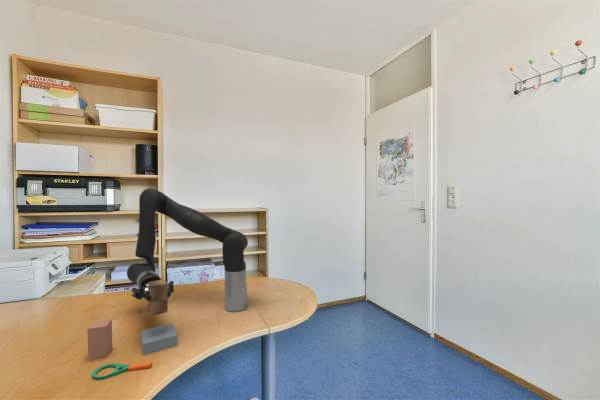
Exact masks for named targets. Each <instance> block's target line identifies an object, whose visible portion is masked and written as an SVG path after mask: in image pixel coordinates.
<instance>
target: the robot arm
mask: <svg viewBox="0 0 600 400" xmlns="http://www.w3.org/2000/svg"><path fill="white" fill-rule="evenodd" d="M138 201H139V205H138V206H139V209H138V210H139V214H138V215H139V217H138V223H139V224H138V235H137V241H136V245H135V246H136V248H135V254H134V255H135V257H137V258H141V259H143V260H145V261H146V262H147V263H139V262H138V263H135V262H134V263H132V264H130V265H129V266H128V268H127V270H126V275H127V278H128V281H130V282H132V283H135V284H137V288H136V287H133V288H131V296H132V298H133V297H134V299H136V300H140V301H141V300H142V299H145V301H147V302H148V301H149V302H150V301H151V294H150V293H149V292H148V282H151V281H157V280H162V278H161V277H160V276H159V274H157V270H156V265H155V247H156V241H157V236H156V235H157V234H156V227H155V225H156V224H155V216H156V213H159V214H161V215H163V216H166V217H168V218H170V219H172V221H175V222H176V223H177V224H178V225H180V226H181V227H182V228H183V229H186V230H187V231H189V232H191V233H192V234H196V235H199V236H202V237H206V238H210V239H213V240H216V241H218V242H220V243H221V244H222V248H221V249H222V264H223V266H224V310H226V311H227V312H234V313H235V312H240V311H245V309H246V308H247V305H248V284H247V270H246V269H247V264H246V263H247V262H246V261H245V260H244V259H245V257H244V256H245V255H244V254H245V253H244V251H245V250H246V249H247V247H248V245H249V244H248V243H249V242H248V241H249V240H248V238H247V236H246V235H245V234H244V233H242V232H240V231H238V230H235V229H232V228H230V227H227V226H225V225H223V224H221V223H220V222H218V221H216V220H214V219H212V218H211V217H209V216H207V215H205V214H204V213H202V212H200V211H198V210H196V209H194V208H192V207H189V206H186V205H182V204H181V203H178V202H177V201H175V200H173V199H172V198H170V197H169V196H167V195H166V194H165V193H163V192H161V191H159V190H158V189H155V188H152V187H151V188H150V187H149V188H146V189H144V190H143V191H141V193H140V195H139V200H138ZM174 282H175V281H174V280H170V281H169V282H167V298H170V296H172V293H174V287H175V286H174Z"/></svg>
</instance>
